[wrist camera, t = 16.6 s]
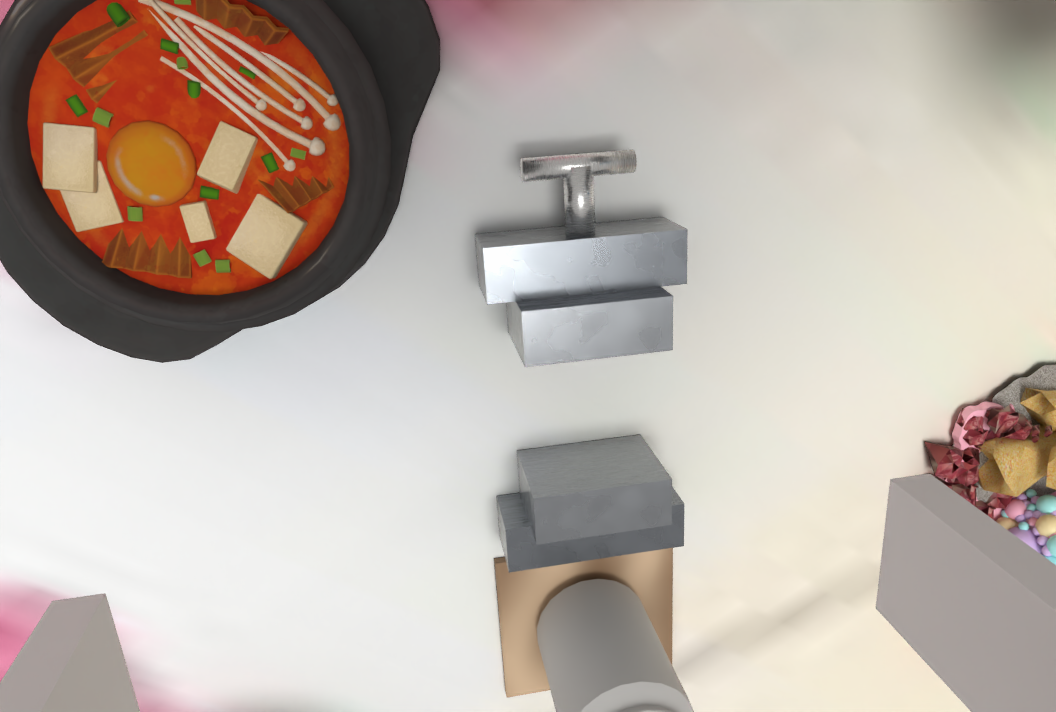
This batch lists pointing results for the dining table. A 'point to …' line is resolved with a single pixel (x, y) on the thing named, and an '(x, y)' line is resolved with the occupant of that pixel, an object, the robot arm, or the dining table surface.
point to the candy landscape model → (1008, 459)
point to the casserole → (202, 157)
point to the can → (606, 653)
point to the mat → (536, 587)
